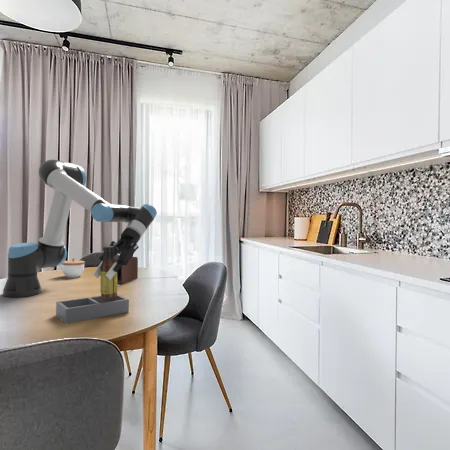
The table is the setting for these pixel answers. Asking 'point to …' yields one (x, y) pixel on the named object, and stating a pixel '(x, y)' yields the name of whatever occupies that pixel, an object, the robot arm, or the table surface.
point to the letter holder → (128, 271)
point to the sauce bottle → (107, 285)
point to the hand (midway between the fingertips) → (101, 276)
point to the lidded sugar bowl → (73, 268)
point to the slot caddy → (91, 308)
